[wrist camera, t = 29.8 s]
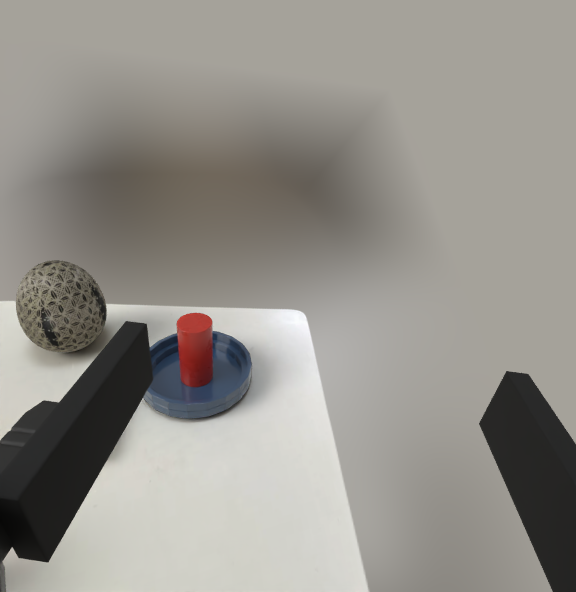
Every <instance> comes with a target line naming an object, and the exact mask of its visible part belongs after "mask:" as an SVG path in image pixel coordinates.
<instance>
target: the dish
mask: <svg viewBox="0 0 576 592" xmlns="http://www.w3.org/2000/svg"><path fill="white" fill-rule="evenodd" d="M212 336H213V378H212V380H211V381H210V382H209V383H208V384H206V385H204V386H201V387H190V386H187V385H185V384H184V383H183V382H182V381H181V376H180V363H179V349H178V335H177V334H173V335H170V336H168V337H166V338H164V339H162V340H160V341H158V342H156V343H155V344H154V345H153V346H151V347H150V355H151V363H152V371H153V381H152V383H151V384H150V386H149V388H148V390H147V391H146V393H145V395H144V397H143V398H144V399H145V400H146V401H147V402H148V403H149V404H150V405H151V406H152V407H153V408H154V409H155V410H157V411H159V412H162V413H164V414H166V415H168V416H172V417H179V418H186V419H188V418H189V419H191V418H201V417H208V416H211V415H214V414H216V413H219V412H222V411H225V410H227V409H228V408H229V407H231V406H232V405H234V404H235V403H237V402H238V401H239V400H240V399H241V398H242V396H243V395H244V394H245V392H246V391H247V390H248V387H249V383H250V380H251V370H252V363H251V358H250V353H249V352H248V351H247V349H246V348H245V346H244V345H243V344H242V343H241V342H239V341H238V340H236V339H235V338H233V337H232V336H229V335H226V334H223V333H220V332H216V331H212Z"/></svg>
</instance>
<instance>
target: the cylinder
mask: <svg viewBox="0 0 576 592" xmlns="http://www.w3.org/2000/svg"><path fill="white" fill-rule="evenodd" d="M177 335H178V349H179V363H180V376H181V381H182V382H183V383H184V384H185V385H187V386H190V387H201V386H204V385H206V384H208V383H209V382H210V381H211V380H212V378H213V336H212V320H211V318H210V317H209V316H207V315H205V314H202V313H190V314H186V315H184V316H182V317H180V318H179V319H178V321H177Z"/></svg>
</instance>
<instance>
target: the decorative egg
mask: <svg viewBox="0 0 576 592" xmlns="http://www.w3.org/2000/svg"><path fill="white" fill-rule="evenodd" d="M16 310H17V316H18V319H19V322H20V325H21V327H22V329H23V331H24V332H25V334H26V335H27V336H28V338H29V339H30V340H31V341H33V342H34V343H35V344H36V345H38V346H40V347H42V348H44V349H46V350H49V351H53V352H72V351H76V350H79V349H82V348H84V347H86V346H88V345H89V344H91V343H92V342H93V341H94V340H95V339H96V338H97V337H98V336H99V335H100V333H101V331H102V329H103V327H104V325H105V321H106V314H107V310H106V303H105V299H104V296H103V294H102V292H101V290H100V288H99V286H98V284H97V283H96V281H95V280H94V279H93V278H92V277H91V276H90V275H89V274H88V273H87V272H86V271H85V270H83V269H82V268H80V267H78V266H76V265H74V264H72V263H68V262H65V261H47V262H44V263H41V264H39V265H37V266H35V267H34V268H33V269H31V270H30V271H29V272H28V273H27V274H26V275H25V277H24V278H23V280H22V282H21V284H20V286H19V288H18V292H17V297H16Z"/></svg>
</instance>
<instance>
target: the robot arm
mask: <svg viewBox="0 0 576 592" xmlns="http://www.w3.org/2000/svg"><path fill="white" fill-rule="evenodd" d="M152 381H153V371H152V363H151V355H150V347H149V339H148V331H147V324H144V323H136V322H128V321H126V322H125V323H124V325H123V326H122V327H121V328H120V329H119V331H118V332H117V333H116V334H115V335H114V337H113V338H112V339H111V340H110V342H109V343H108V344H107V345H106V346H105V348H104V349H103V350H102V351H101V352H100V354H99V355H98V356H97V357H96V359H95V360H94V361H93V362H92V363H91V365H90V366H89V367H88V368H87V369H86V371H85V372H84V373H83V374H82V376H81V377H80V378H79V379H78V380H77V382H76V383H75V384H74V385H73V386H72V388H71V389H70V390H69V391H68V392H67V394H66V395H65V396H64V397H63V399H62V400H61V401H60V402H59V403H58V402H51V401H42V402H41V403H39V404H38V405H36V406H35V407H33V408H32V409H30V410H29V411H27V412H26V413H25V414H24V415H23V416H22V417H21V418H20V419H19V420H18V422H17V423H16V424H15V425H14V426H13V427H12V429H11V431H9V432H8V433H7V434H6V435H5V436H4V437H3V438H2V439H1V440H0V592H6V584H5V568H4V565H3V562H2V561H3V560H4V558H5V557H6V555H7V554H8V552H9V551H10V549H11V548H12V547H13V549H14V550H15V552H16V554H17V556H18V558H23V559H29V560H36V561H42V562H49V560H50V558H51V556H52V555H53V553H54V551H55V550H56V548H57V546H58V544H59V543H60V541H61V539H62V537H63V536H64V534H65V532H66V530H67V529H68V527H69V525H70V523H71V522H72V520H73V518H74V517H75V515H76V513H77V511H78V510H79V508H80V506H81V504H82V503H83V501H84V499H85V497H86V496H87V494H88V492H89V490H90V489H91V487H92V485H93V484H94V482H95V480H96V478H97V477H98V475H99V473H100V471H101V470H102V468H103V466H104V464H105V463H106V461H107V459H108V457H109V456H110V454H111V452H112V451H113V449H114V447H115V445H116V444H117V442H118V440H119V438H120V437H121V435H122V433H123V431H124V430H125V428H126V426H127V424H128V423H129V421H130V419H131V417H132V416H133V414H134V412H135V411H136V409H137V407H138V405H139V404H140V402H141V400H142V398H143V397H144V395H145V393H146V391H147V390H148V388H149V386H150V384H151V383H152ZM479 425H480V427H481V429H482V431H483V433H484V436H485V438H486V440H487V443H488V445H489V447H490V450H491V452H492V454H493V456H494V459H495V461H496V463H497V466H498V468H499V470H500V472H501V475H502V477H503V479H504V481H505V484H506V486H507V488H508V491H509V493H510V495H511V497H512V500H513V502H514V504H515V507H516V509H517V511H518V513H519V516H520V518H521V520H522V523H523V525H524V527H525V529H526V531H527V534H528V536H529V538H530V541H531V543H532V545H533V547H534V550H535V552H536V554H537V557H538V559H539V561H540V563H541V566H542V568H543V570H544V573H545V575H546V577H547V579H548V582H549V584H550V586H551V589H552V591H553V592H576V444H575V443H574V441H573V439H572V438H571V436H570V435H569V433H568V432H567V431H566V429H565V428H564V426H563V425H562V423H561V422H560V420H559V419H558V417H557V416H556V414H555V413H554V411H553V410H552V409H551V407H550V405H549V404H548V402H547V401H546V400H545V398H544V397H543V395H542V394H541V392H540V391H539V389H538V388H537V386H536V385H535V383H534V382H533V380H532V379H531V377H530V376H529V375H528V374H524V373H516V372H509V371H506V373H505V375H504V377H503V379H502V381H501V383H500V385H499V387H498V388H497V390H496V392H495V394H494V396H493V398H492V400H491V402H490V404H489V406H488V407H487V409H486V412H485V414H484V415H483V417H482V419H481V421H480V423H479Z"/></svg>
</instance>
